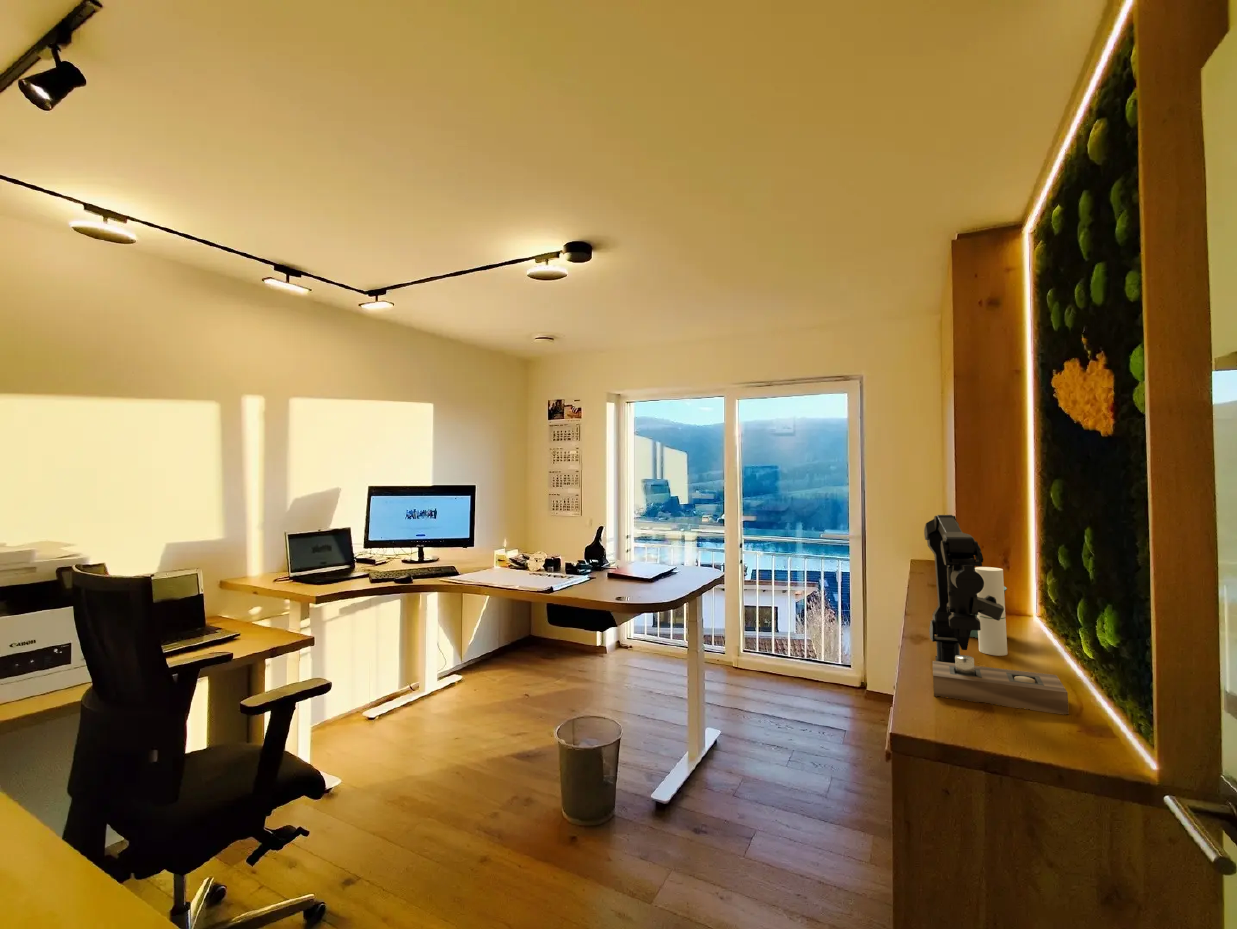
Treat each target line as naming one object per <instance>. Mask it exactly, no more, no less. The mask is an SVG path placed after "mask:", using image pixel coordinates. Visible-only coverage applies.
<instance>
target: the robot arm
mask: <svg viewBox="0 0 1237 929" xmlns="http://www.w3.org/2000/svg"><path fill="white" fill-rule="evenodd" d="M959 525H960V524H959V522H958V521H957V517H956V515H953V514H937V515H934V517H933V519H931V520H929V521H927V522H926V523H925V525H924V530H923V537H924V540H926V541H927V546H928V548H929V549H930V551H931V552H932V554H933V558H934V568H935V570H934V571H935V581H936V582H935V584H936V593H937V595H936V596H937V598H936V599H937V606H936V608H935V609H934V611H933V613H932V619H931V620H930V622H929V623H930V624H929V638H930V640H931V642H933V643H935V644H936V655H934V656H935V658H934V659H935V661H938V662H947V663H955V656H956V655H961V652H960V651H968V646H969V641H970V638H971V637H970V633H971V631H972V630H977V631H979V630H981V627H980V620H979V619H978V618H977V617H976V616H975V615H978V612H979V613H981V614H984V615H986V616H989V617H992V618H993V619H995V620H998V621H999V620H1000V618H1001V616H1002V613H1003V611H1004V608H1003V606H1002V605H1000V604H997V603H996V599H995V597H992V596H990V595H988V596H987V597H985V598H980V597H977V593H979V592H981V590H982V589H983V587H984V581H983V578H982V577H981V575H980V574H978V573H977V572H976V571H975V568H976V567H983V563H984V557H983V552H982V549H981V546H980V545H979V544H978V541H977V540H975V538H974V537H973V536H972V535H971V534H970V533H969V534H968V533H965V532H963V531H962V529H961V528H960V526H959ZM971 614H972V615H971ZM960 649H961V650H960Z"/></svg>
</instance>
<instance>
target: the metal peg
mask: <svg viewBox="0 0 1237 929" xmlns="http://www.w3.org/2000/svg"><path fill="white" fill-rule="evenodd" d="M974 666H975V658H974V657H973V656H970V655H965V654H964V655H963V654H960V655H956V656H955V667H956V674H964V675H972V676H975V670H974Z"/></svg>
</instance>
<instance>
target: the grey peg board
mask: <svg viewBox="0 0 1237 929" xmlns="http://www.w3.org/2000/svg"><path fill="white" fill-rule="evenodd" d="M974 670H975V676H972V675H964V674H956V667H955V663H947V662H938V661H936V660H932V682H933V696H934V697H937V696H942V697H941V698H944V697H948V698H947V699H951V698H955V699H954V700H958V699H962V700H961V701H965V700H968V701H967V702H972V701H975V702H974V703H979V702H986V703H991V704H990V705H993V704H997V705H996V706H1000V705H1002V707H1009V708H1014V709H1015V708H1017V709H1021V708H1025V709H1024V710H1028V709H1030V711H1035V712H1036V711H1037V712H1043V713H1050V714H1058V715H1064V714H1069V711H1070V709H1069V695H1068V694H1069V692H1068V691H1067V689H1066V688H1065V686H1064V685H1063V683H1062V682H1061V680H1060V679H1059V677H1058V675H1057V674H1049V673H1041V672H1032V671H1025V670H1015V669H1007V668H997V667H989V666H979V665H974ZM1016 676H1024V677H1029V678H1032V679H1034V680H1035V683H1029V682H1021V681H1014V677H1016ZM986 703H985V704H986ZM1069 715H1070V714H1069Z"/></svg>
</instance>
